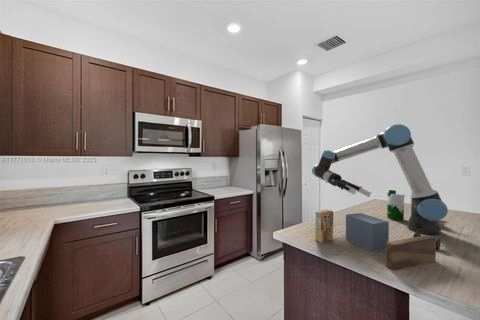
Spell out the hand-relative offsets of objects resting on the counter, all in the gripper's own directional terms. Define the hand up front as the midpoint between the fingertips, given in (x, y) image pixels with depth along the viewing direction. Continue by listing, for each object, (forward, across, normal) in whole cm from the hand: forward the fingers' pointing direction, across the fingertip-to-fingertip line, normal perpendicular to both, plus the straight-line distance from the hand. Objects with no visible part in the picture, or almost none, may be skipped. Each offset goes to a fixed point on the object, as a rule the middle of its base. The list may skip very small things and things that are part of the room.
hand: (362, 193), depth 114 cm
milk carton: (-4, -56, -16) cm, 58 cm away
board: (+33, +6, -16) cm, 37 cm away
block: (+13, +2, -22) cm, 26 cm away
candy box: (+2, +17, -29) cm, 33 cm away
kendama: (+28, -16, -14) cm, 35 cm away
